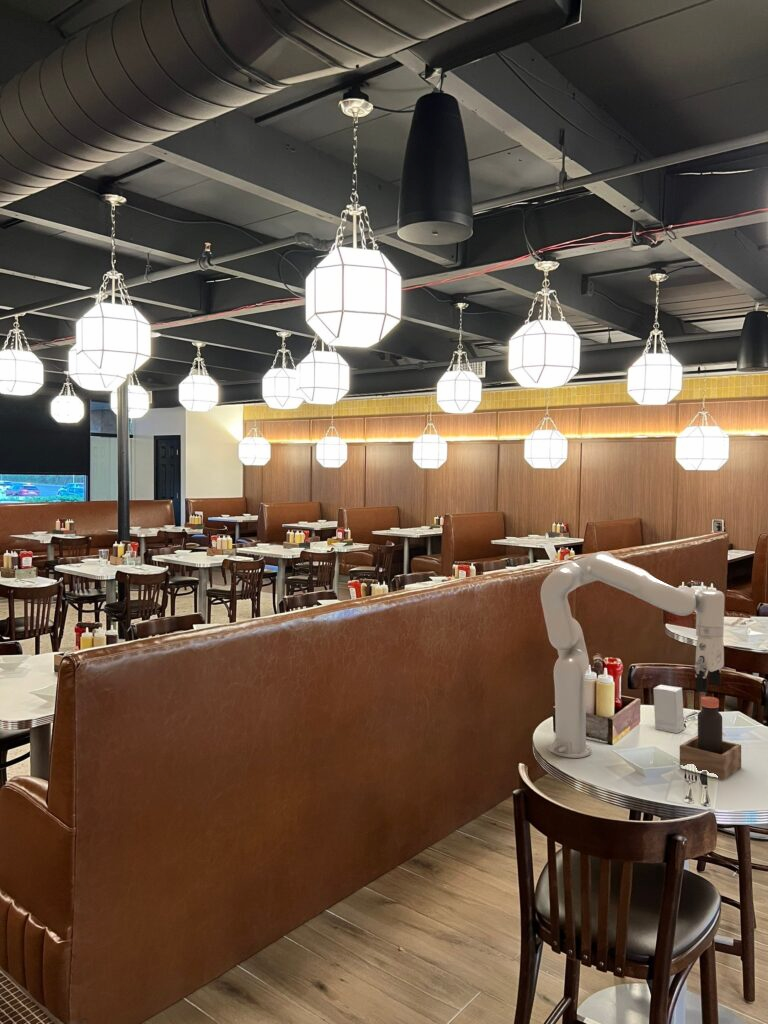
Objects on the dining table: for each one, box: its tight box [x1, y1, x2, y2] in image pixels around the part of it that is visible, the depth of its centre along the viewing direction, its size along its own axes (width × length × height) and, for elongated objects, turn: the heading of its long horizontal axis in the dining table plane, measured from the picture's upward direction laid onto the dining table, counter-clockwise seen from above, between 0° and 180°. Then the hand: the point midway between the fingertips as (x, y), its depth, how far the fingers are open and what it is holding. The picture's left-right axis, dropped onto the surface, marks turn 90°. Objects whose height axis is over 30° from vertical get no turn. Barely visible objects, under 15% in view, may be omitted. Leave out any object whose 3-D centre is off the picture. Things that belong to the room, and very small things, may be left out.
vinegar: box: [697, 696, 723, 755], centre depth 225 cm, size 7×7×20 cm
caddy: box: [679, 734, 742, 781], centre depth 224 cm, size 13×13×7 cm
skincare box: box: [653, 684, 685, 734], centre depth 260 cm, size 8×6×15 cm
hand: (708, 687), depth 224 cm, fingers open, 9 cm apart
